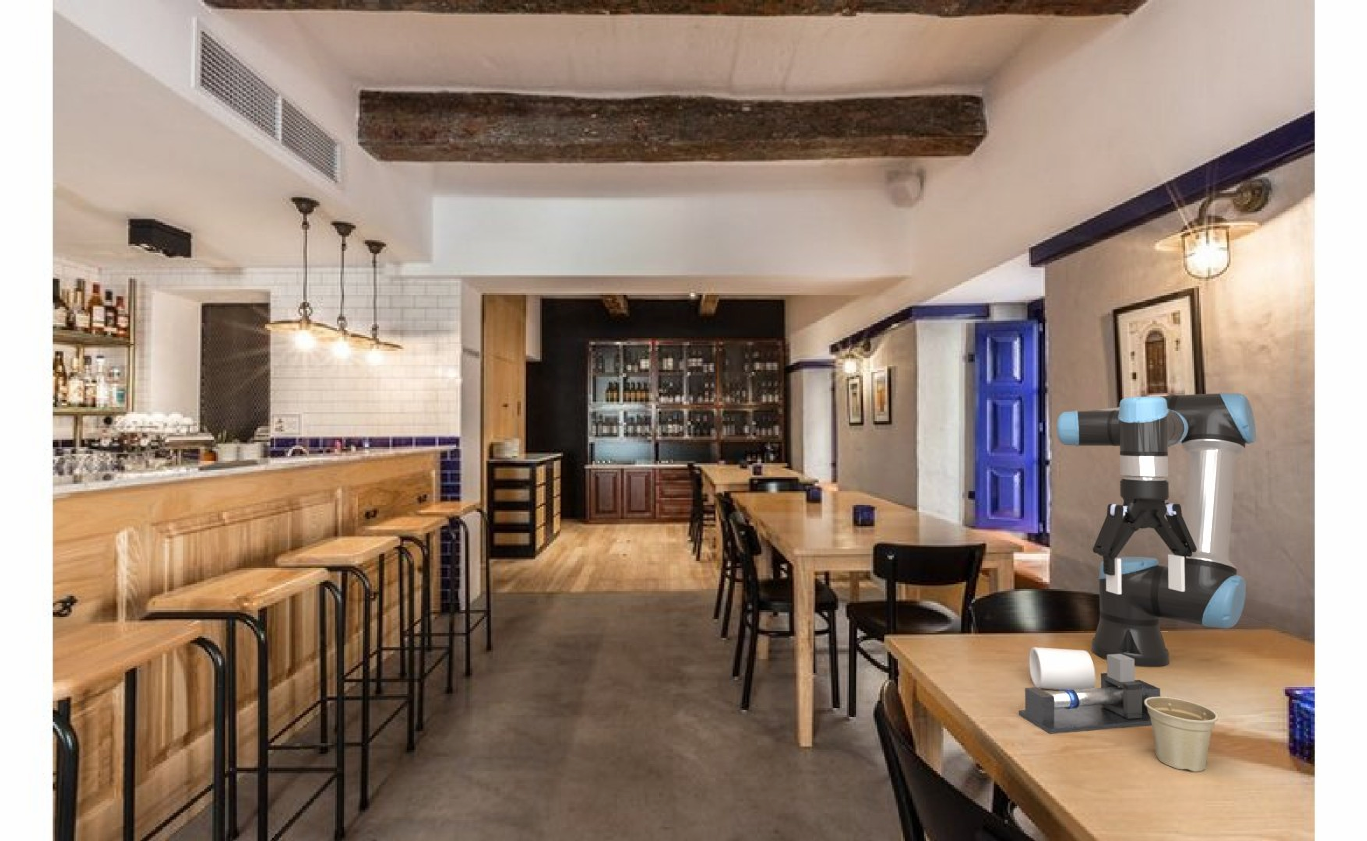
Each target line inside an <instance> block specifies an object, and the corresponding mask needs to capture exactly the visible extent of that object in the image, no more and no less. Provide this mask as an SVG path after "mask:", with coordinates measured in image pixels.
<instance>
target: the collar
mask: <svg viewBox="0 0 1367 841" xmlns="http://www.w3.org/2000/svg"><path fill="white" fill-rule="evenodd" d="M1135 673H1136V672H1135V665H1134V659H1133V658H1130V657H1128V656H1125V655H1123V654H1109V655H1107V659H1106V672H1102V673H1100V688H1109V687H1122V688H1123V703H1119V704H1106V705H1102V706H1104V707H1106V708H1108V709H1109V710H1111V711H1113V712H1115V713H1117V714H1119V715H1121V716H1123V717H1125V718H1127V719H1131V718H1142V684H1140V683H1138V682H1136V681H1135V680H1136V679H1135V676H1136V675H1135Z"/></svg>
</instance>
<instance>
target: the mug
mask: <svg viewBox="0 0 1367 841" xmlns="http://www.w3.org/2000/svg"><path fill="white" fill-rule="evenodd" d="M1028 666H1029V673H1030V677H1031V681H1032V683H1033V686H1034V687H1037V688H1039V689H1042V690H1043V689H1046V690H1055V691H1056V690H1057V691H1060V690H1062V689H1072V690H1082V689H1095V685H1096V684H1095V683H1096V670H1095V665H1094V663H1093V659H1092V657H1091V655H1090V653H1089V651H1087V650H1085V649H1084V650H1083V649H1069V648H1067V649H1066V648H1051V647H1050V648H1049V647H1036V646H1034V647H1031V649H1030V651H1029V655H1028Z"/></svg>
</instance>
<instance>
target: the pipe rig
mask: <svg viewBox="0 0 1367 841" xmlns="http://www.w3.org/2000/svg"><path fill="white" fill-rule="evenodd" d="M1135 681H1136V682H1138V683H1140V684H1142V718H1131V719H1127V718H1125V717H1123V716H1121V715H1119V714H1117V713H1115V712H1113V711H1111V710H1109V709H1108V708H1106V707H1104V706H1102V705H1106V704H1119V703H1123V688H1122V687H1109V688H1101V687H1098V688H1097V687H1094V689H1082V690H1072V689H1062V690H1057V691H1056V690H1054V691H1045V690H1043V689H1042V688H1037V687H1035V686H1033V687H1024V702H1025V703H1024V705H1025V706H1024V708H1025V709H1019V710H1018V716H1020V717H1021V718H1023V719H1025V720H1026V721H1029V723H1032V724H1034V725H1035V726H1036V727H1038V728H1039V729H1041V730H1043V731H1045V733H1048V734H1049V735H1051V734H1063V733H1065V734H1066V733H1073V732H1074V733H1075V732H1076V733H1077V732H1086V731H1087V732H1088V731H1098V730H1099V731H1100V730H1112V729H1122V728H1134V727H1144V726H1145V727H1146V726H1152V724H1151V718H1150V715H1149V714H1148V710H1147V707H1146V706H1145V704H1144V701H1145V699H1147V698H1150V697H1161V688H1160V687H1157V686H1156V685H1152V684H1150V683H1148V682H1146V681H1143V680H1140V679H1135Z"/></svg>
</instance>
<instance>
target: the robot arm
mask: <svg viewBox="0 0 1367 841" xmlns="http://www.w3.org/2000/svg"><path fill="white" fill-rule="evenodd" d="M1256 429H1257V428H1256V422H1255V416H1254V412H1253V408H1252V406H1251V403H1250V401H1249V399H1248V397H1247V396H1246V395H1244V394H1242V393H1238V392H1237V393H1234V392H1233V393H1231V392H1229V393H1225V392H1219V393H1199V394H1176V395H1175V394H1173V395H1172V394H1171V395H1162V396H1134V397H1133V396H1132V397H1131V396H1130V397H1125V398H1123V399H1121V400H1120V402H1119V406H1118V407H1110V408H1109V407H1108V408H1102V409H1093V410H1074V411H1063V412H1062V413H1060V415H1059V416H1058V418H1057V421H1056V435H1057V439H1058V440H1059V442H1060V443H1061V444H1062V445H1064V446H1075V447H1087V446H1088V447H1094V446H1095V447H1097V446H1098V447H1102V446H1103V447H1106V446H1107V447H1108V446H1109V447H1119V475H1120V476H1122V477H1123V478H1121V480H1120V481H1119V483H1120V484H1119V492H1120V493H1119V495H1120V497H1121V498H1122V499H1123V503H1122V504H1115V503H1109V504H1108V505H1107V511H1106V516H1105V519H1104V521H1103V524H1102V526H1101V528H1100V531H1099V533H1098V536H1097V538H1096V540H1095V543H1094V545H1093V547H1092V552H1093V553H1094V554H1097V555H1098V556H1101V557H1102V561H1101V562H1100V564H1099V575H1098V581H1099V582H1098V583H1099V584H1098V585H1099V621H1098V624H1097V627H1096V630H1095V634H1094V637H1093V638H1092V640H1091V652H1092V653H1093V654H1094V655H1095V656H1097V657H1100V658H1103V659H1106V660H1107V655H1109V654H1123V655H1125V656H1128V657H1130V658H1133V659H1134V666H1139V667H1154V668H1155V667H1163V666H1167V665H1169V663H1170V653H1169V650H1168V648H1167V647H1166V644H1165V640H1164V637H1163V634H1162V631H1161V629H1160V618H1162V619H1166V620H1167V619H1168V620H1172V621H1173V620H1174V621H1179V622H1184V623H1189V624H1195V625H1201V626H1203V627H1205V628H1206V627H1207V628H1209V627H1212V628H1218V629H1230V628H1232V627H1234V626H1235V625H1236V624H1237V623H1238V622H1239V620H1240V618H1241V616H1242V613H1243V611H1244V606H1245V602H1246V597H1247V595H1246V594H1247V591H1246V589H1247V582H1246V580H1245V578H1244V577H1243V576H1240V575H1239V574H1238V572H1237V571H1238V570H1237V569H1238V568H1237V567H1236V566H1235V565H1234V564H1233V563H1232V562H1231V561H1230V559H1229V558H1230V556H1229V555H1230V541H1231V529H1232V527H1231V526H1232V515H1233V501H1234V500H1233V499H1234V485H1235V472H1236V461H1237V460H1236V459H1237V458H1238V457H1239V456H1241V455H1243V454H1244V453H1245V451H1246V444H1248V445H1250V444H1253V443H1255V442H1256V438H1257V430H1256ZM1180 443H1181V449H1182V450H1183V451H1185V453H1187V454H1188V460H1187V469H1186V470H1187V472H1186V482H1185V490H1184V492H1185V493H1184V501H1183V502H1184V504H1183V513H1182V506H1181V504H1179V503H1172V502H1166V501H1167V500H1169V496H1170V495H1169V494H1170V491H1169V490H1170V489H1169V488H1170V487H1169V485H1170V484H1169V481H1168V480H1166V478H1168V477H1169V475H1170V474H1169V448H1170V447H1174V446H1175V445H1177V444H1180ZM1148 528H1149V529H1154V531H1155V532H1156V533H1157V535H1158V536H1159V537H1160V539H1162V541H1163V542H1164V543H1165V545H1166V547H1167V548H1168V549H1169V550H1170V552H1171V553H1172V554H1169V553H1168V554H1167V563H1168V565H1167V566H1163V565H1160V562H1159V560H1158V558H1155V557H1149V556H1119V555H1120V553H1121V552H1122V550H1123V548H1124V547H1125V546H1126V544H1127V543H1128V542H1129V540H1130V539H1131V538H1132V536H1133V535H1134V534H1135V532H1137V531H1139V530H1140V529H1148ZM1118 556H1119V557H1118Z"/></svg>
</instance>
